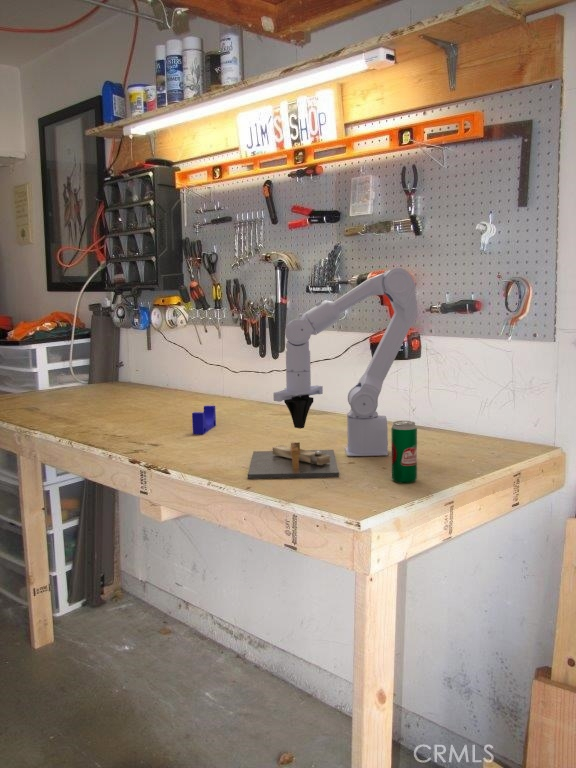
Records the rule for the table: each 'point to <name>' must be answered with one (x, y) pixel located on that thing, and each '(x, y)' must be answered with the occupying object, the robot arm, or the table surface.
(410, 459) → the soda can
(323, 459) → the link
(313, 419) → the table surface
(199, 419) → the blue u-shaped block
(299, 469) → the base plate
